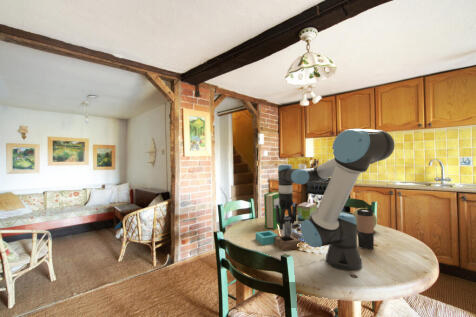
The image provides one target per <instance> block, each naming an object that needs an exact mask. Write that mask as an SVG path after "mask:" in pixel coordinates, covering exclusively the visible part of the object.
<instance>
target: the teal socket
mask: <svg viewBox="0 0 476 317" xmlns="http://www.w3.org/2000/svg"><path fill="white" fill-rule="evenodd" d="M277 236H279V235H278V234H277V233H275V232H273V230H263V231H258V232H255V241H257V242H258V243H260V245H262V246H266V245H272V244H274V245H275V237H277Z"/></svg>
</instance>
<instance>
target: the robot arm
mask: <svg viewBox="0 0 476 317" xmlns="http://www.w3.org/2000/svg"><path fill="white" fill-rule="evenodd" d="M395 145H396V144H395V140H394V138H393V137H392V136H391V134H390V133H388V132H387V131H384V130H381V129H367V128H366V129H364V128H363V129H362V128H349V129H345V130H343V131H341V132H340V133H339V134H337V136H336V137H335V139H334V140H333V143H332V150H333V151H332V153H333V156H334V158H331V159H330V160H328V161H326V162H324V163H321V164H319V165H318V166H315V167H307V168H293V166H292V164H279V165H278V166H277V168H278V169H277V170H278V171H277V180H278V191H279V192H280V193H279V204H277V205H274V207H275V210H276V222H277V223H279V224H280V227H279V230H280V236H285V225H284V224H283V221H284V215H286V211H287V214H288V216H290V217H291V220H290V235H291V236H293V229H294V224H295V222H297V205H299V204H298V203H297V202H294V201H293V200H294V197H293V196H294V195H293V188H294V187H293V184H295V185H305V184H307V183H321V182H326V181H327V180H328V179H329V178H330V179H329V181H328V184H327V186H326V188H325V190H324V193H323V195H322V197H321V201H320V203H319V204H318V207H317V210H315V211H313V212H312V214H311V216H310V219H309V220H305V221H303V222H302V224H301V226H300V231H301V235H302V237H303V238H302V239H303V240H304V242H305V243H306V244H307V245H308V246H310V247H311V248H322V247H324V246H328V249H327V253H326V255H325V261H326V263H327V264H328V265H329V266H331V267H333V268H336V269H339V270H344V271H357V270H360V269H361V268H362V266H363V260H362V257H361V255H360V253H359V249H358V228H357V224H356V218H355V216H353V215H352V213H349V212H348V213H346V212H343V209H344V207H345V205H346V203H347V201H348V198H349V197H350V195H351V192H352V191H353V188H354V187H355V184H356V182H357V180H358V178H359V176H360V174H362V173H366V172H367V170H368V169H369V167H370V165H373V164H375V163H379V162H381V161H385V160H386V159H387V158H389V157H390V156H391V155H392V154H393V153H394V150H395ZM279 206H280V207H281V213H280V210H279V208H280V207H279Z"/></svg>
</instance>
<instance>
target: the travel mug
mask: <svg viewBox="0 0 476 317" xmlns="http://www.w3.org/2000/svg"><path fill="white" fill-rule="evenodd" d="M358 209H359V208H358ZM373 213H374V210H372V209H369V208H367V209H366V208H364V209H359V210H357V225H358V228H357V245H358V247H359V248H361V249H364V250H373V249H374V248H375V246H374V245H375V244H374V243H375V242H374V241H375V238H374V237H375V234H374V233H375V232H374V231H375V230H374V228H375V227H374V226H373Z"/></svg>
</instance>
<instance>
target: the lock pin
mask: <svg viewBox="0 0 476 317" xmlns="http://www.w3.org/2000/svg"><path fill="white" fill-rule="evenodd" d="M290 220H291V217H290V216H288V215H287V214H285V215H284V221H283V224H284V225H285V236H283V240H284V241H290V240H291V236H292V235H291V236H290Z"/></svg>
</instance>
